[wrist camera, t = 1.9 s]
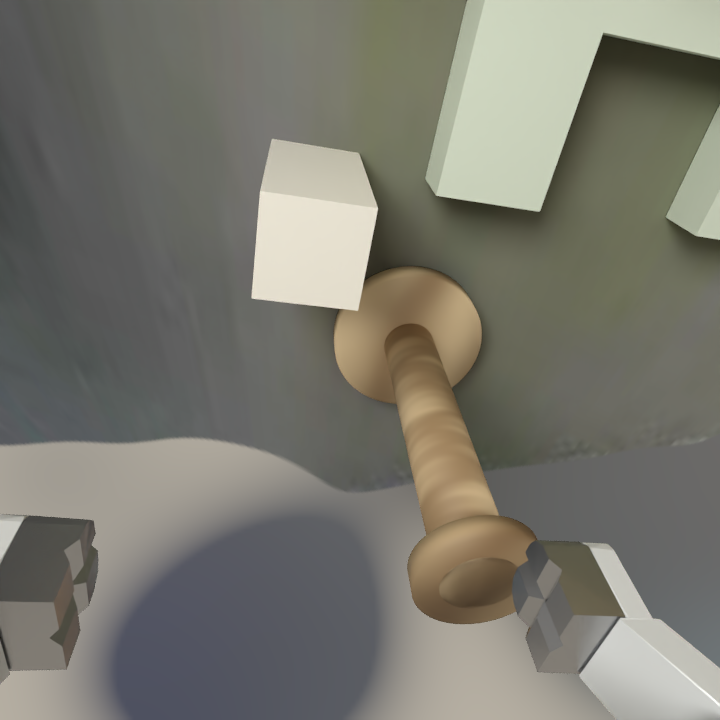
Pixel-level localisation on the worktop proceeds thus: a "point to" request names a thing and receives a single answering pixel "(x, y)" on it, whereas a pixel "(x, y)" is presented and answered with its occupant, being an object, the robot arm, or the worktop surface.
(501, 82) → the notched board
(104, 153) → the worktop surface
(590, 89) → the worktop surface
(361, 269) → the block
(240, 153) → the worktop surface
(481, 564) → the bobbin post
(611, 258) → the worktop surface
